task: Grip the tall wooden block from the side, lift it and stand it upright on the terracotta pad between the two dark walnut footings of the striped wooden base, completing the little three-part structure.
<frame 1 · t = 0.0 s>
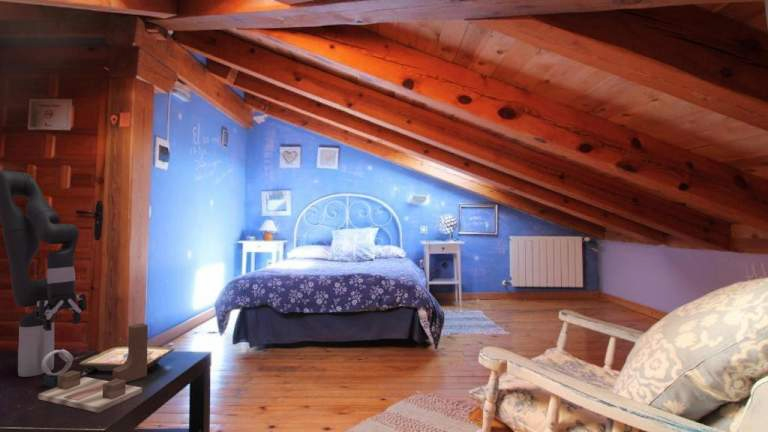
hand: (62, 327, 128), 17 cm above the table, tool pointing down, fingers open, 8 cm apart
watch: (57, 384, 122), on the table
striped wooden base: (90, 395, 113), on the table
wooden block: (130, 379, 125), on the table
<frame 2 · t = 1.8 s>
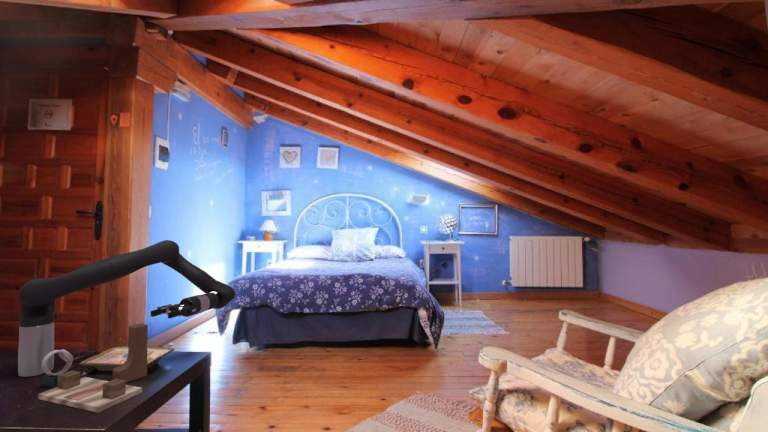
hand: (159, 314, 136), 19 cm above the table, tool horizontal, fingers open, 8 cm apart
nothing on the table moved.
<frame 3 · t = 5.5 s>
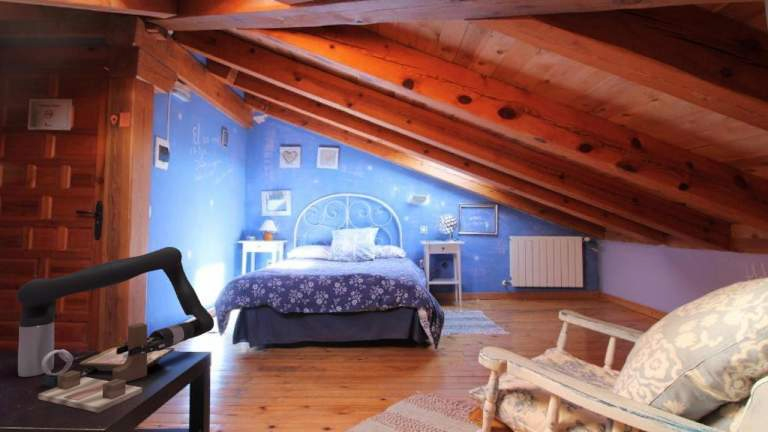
hand: (123, 352, 123), 10 cm above the table, tool horizontal, fingers closed on wooden block, 5 cm apart
wooden block: (130, 379, 125), on the table, touching gripper
everything else where it was.
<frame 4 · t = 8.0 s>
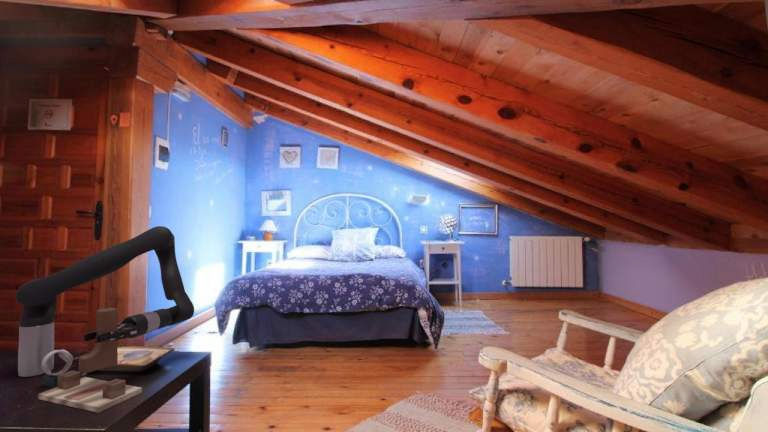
hand: (90, 338, 113), 18 cm above the table, tool horizontal, fingers closed on wooden block, 4 cm apart
wooden block: (98, 368, 116), point 7 cm above the table, touching gripper
everything else where it was.
when the fingers open (13 cm above the table, at t = 10.2 s): wooden block stays where it is, resting on striped wooden base.
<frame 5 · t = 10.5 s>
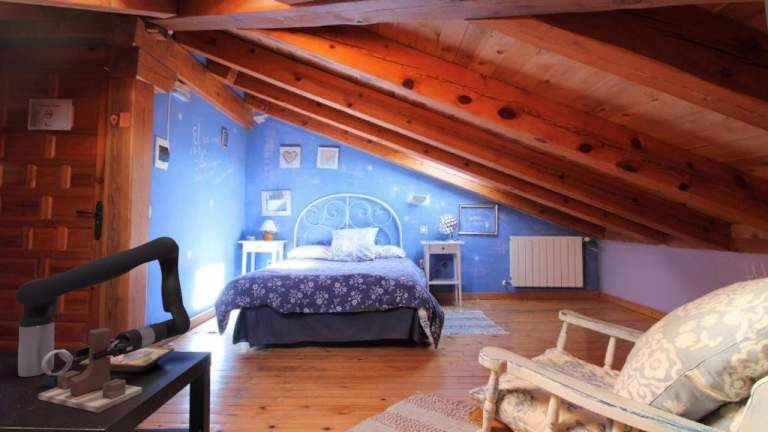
hand: (83, 355, 112), 13 cm above the table, tool horizontal, fingers open, 7 cm apart
wooden block: (90, 390, 114), point 2 cm above the table, touching striped wooden base
everything else where it was.
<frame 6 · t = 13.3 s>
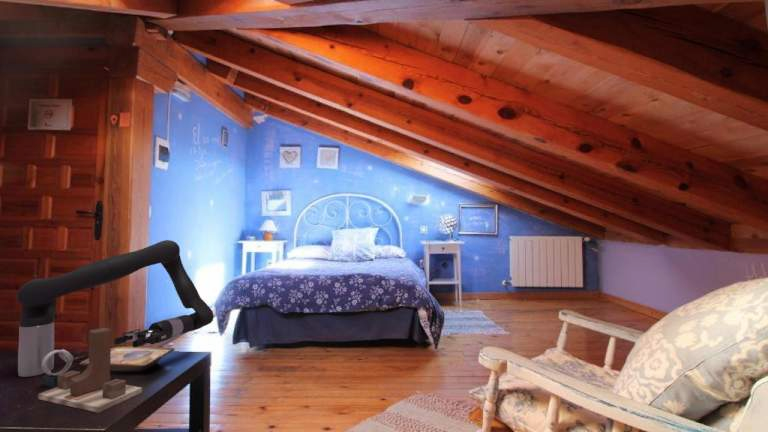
hand: (124, 343, 123), 13 cm above the table, tool horizontal, fingers open, 8 cm apart
nothing on the table moved.
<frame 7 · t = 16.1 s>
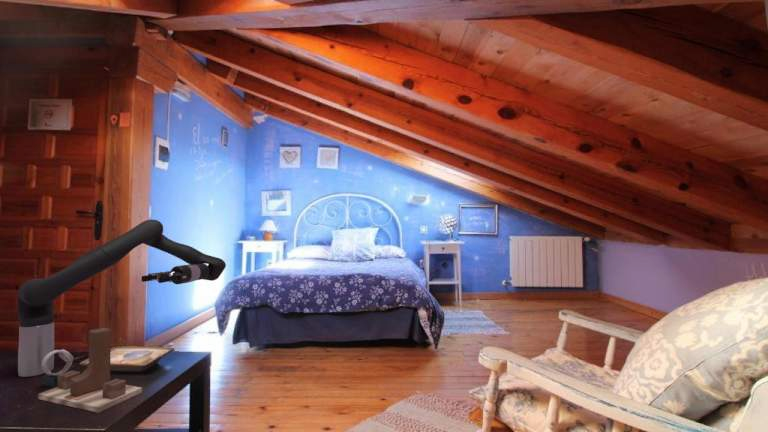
hand: (150, 279, 139), 32 cm above the table, tool horizontal, fingers open, 8 cm apart
nothing on the table moved.
at the end: wooden block 0.4 cm off-centre on the striped wooden base, point 1.5 cm above the striped wooden base's base; wooden block tilted 0°; the gripper is holding nothing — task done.
